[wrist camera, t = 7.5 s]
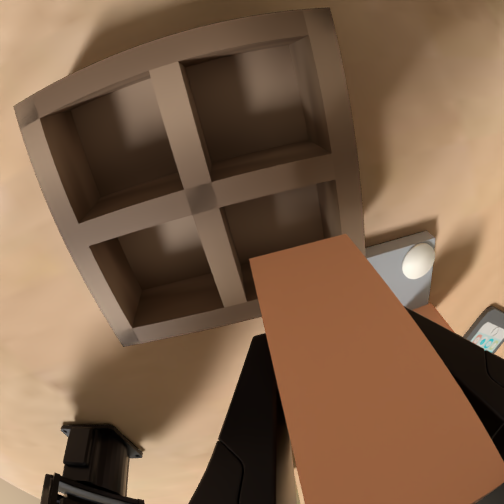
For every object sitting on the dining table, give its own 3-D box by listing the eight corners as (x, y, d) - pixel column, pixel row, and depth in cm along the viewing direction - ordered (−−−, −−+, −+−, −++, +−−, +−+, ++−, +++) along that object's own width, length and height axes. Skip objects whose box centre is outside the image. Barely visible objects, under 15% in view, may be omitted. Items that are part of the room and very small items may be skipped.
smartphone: (520, 322, 24) (436, 416, 30) (515, 317, 25) (433, 410, 31) (490, 307, 22) (392, 417, 28) (484, 301, 23) (389, 410, 29)
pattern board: (419, 324, 22) (457, 379, 17) (319, 358, 22) (344, 426, 17) (429, 229, 18) (489, 282, 13) (306, 264, 18) (343, 337, 13)
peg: (350, 308, 11) (454, 516, 4) (268, 331, 11) (325, 566, 4) (346, 233, 9) (511, 476, 2) (248, 258, 9) (319, 564, 2)
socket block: (337, 246, 18) (366, 287, 14) (136, 297, 18) (123, 346, 14) (299, 25, 12) (329, 7, 8) (56, 98, 12) (13, 106, 8)
